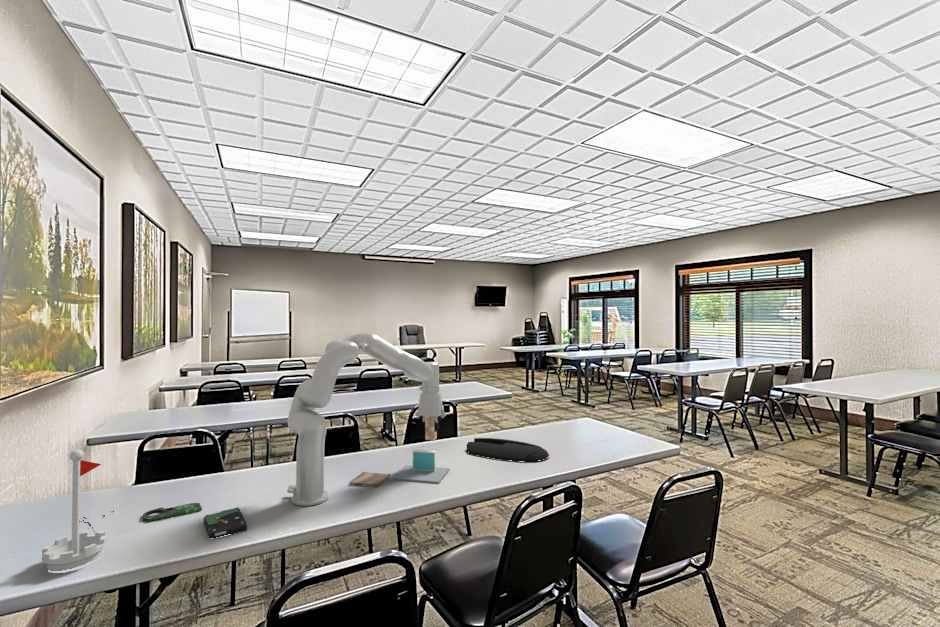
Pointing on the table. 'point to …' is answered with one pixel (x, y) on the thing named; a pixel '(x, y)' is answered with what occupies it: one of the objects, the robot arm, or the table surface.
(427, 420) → the block
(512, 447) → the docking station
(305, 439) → the robot arm
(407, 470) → the mat
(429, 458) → the tile
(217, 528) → the disk drive
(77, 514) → the flag stand
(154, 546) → the table surface
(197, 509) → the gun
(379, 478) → the plate
